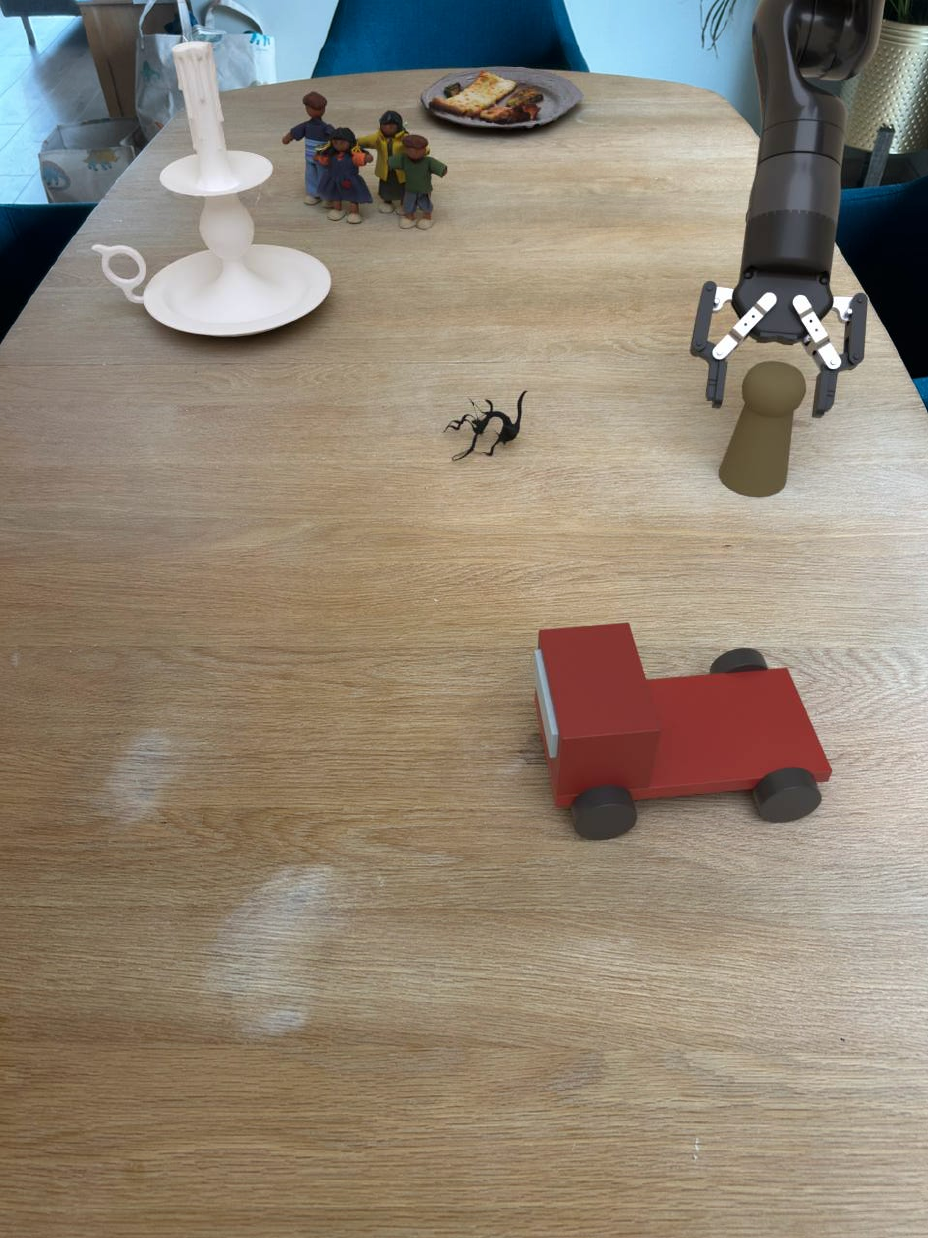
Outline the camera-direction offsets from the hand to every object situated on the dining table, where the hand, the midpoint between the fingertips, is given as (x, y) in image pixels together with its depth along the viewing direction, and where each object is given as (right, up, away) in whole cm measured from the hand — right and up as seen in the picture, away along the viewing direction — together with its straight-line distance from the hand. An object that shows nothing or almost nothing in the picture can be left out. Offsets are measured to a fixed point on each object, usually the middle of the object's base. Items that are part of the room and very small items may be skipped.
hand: (767, 411), depth 86 cm
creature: (-25, -1, +9) cm, 26 cm away
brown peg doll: (0, -5, +5) cm, 7 cm away
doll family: (-39, +36, +45) cm, 70 cm away
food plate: (-20, +62, +70) cm, 96 cm away
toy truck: (-12, -27, -17) cm, 34 cm away
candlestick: (-53, +16, +27) cm, 62 cm away
